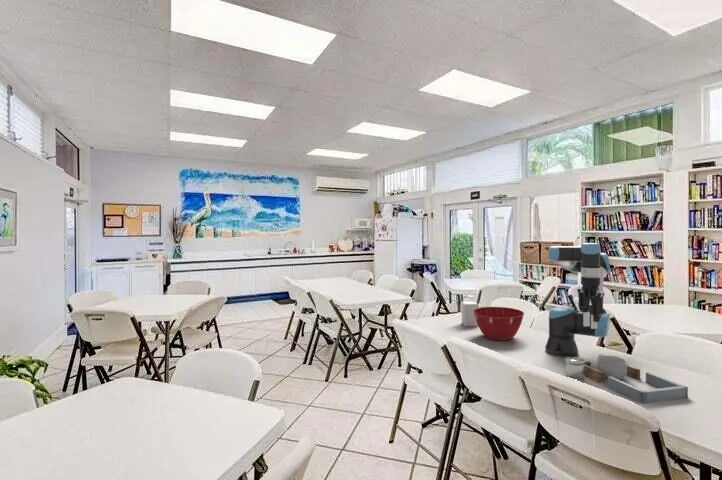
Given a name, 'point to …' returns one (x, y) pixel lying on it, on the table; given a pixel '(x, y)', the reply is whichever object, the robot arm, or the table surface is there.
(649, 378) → the dock
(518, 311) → the mixing bowl
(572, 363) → the sugar tin
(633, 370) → the wooden u-shaped bracket
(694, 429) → the table surface
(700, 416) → the table surface
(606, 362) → the teacup
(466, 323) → the supplement box
